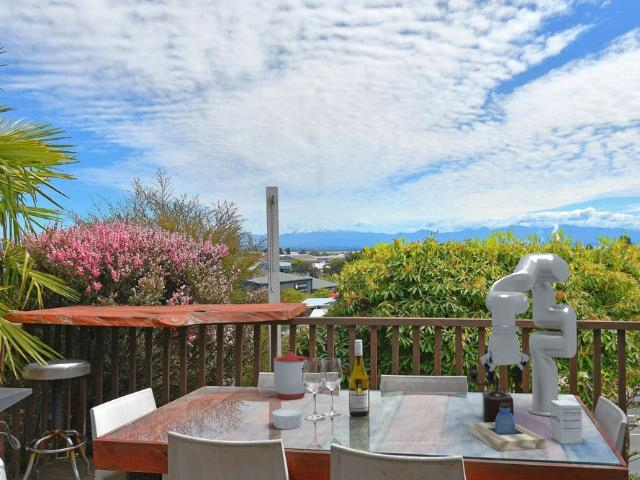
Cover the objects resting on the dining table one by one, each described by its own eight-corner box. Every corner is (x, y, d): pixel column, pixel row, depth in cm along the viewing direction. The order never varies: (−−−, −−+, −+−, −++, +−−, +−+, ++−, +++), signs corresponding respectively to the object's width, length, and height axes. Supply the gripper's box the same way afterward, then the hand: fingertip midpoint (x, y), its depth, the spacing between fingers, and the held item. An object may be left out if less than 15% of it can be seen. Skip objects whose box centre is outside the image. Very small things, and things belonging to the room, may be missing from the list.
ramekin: (279, 432, 215) (279, 417, 215) (266, 424, 225) (266, 410, 225) (307, 428, 220) (307, 413, 221) (294, 421, 230) (294, 406, 231)
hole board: (511, 429, 216) (511, 421, 217) (545, 448, 195) (545, 438, 195) (469, 432, 213) (468, 423, 214) (498, 451, 192) (498, 441, 192)
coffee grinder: (509, 417, 234) (509, 369, 235) (514, 424, 223) (513, 374, 224) (468, 415, 237) (467, 368, 237) (470, 423, 226) (470, 374, 226)
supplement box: (550, 438, 206) (549, 400, 207) (571, 437, 207) (571, 399, 207) (561, 444, 199) (560, 405, 199) (582, 443, 200) (582, 404, 200)
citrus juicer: (312, 400, 264) (311, 353, 264) (271, 400, 264) (271, 354, 265) (313, 393, 279) (312, 348, 280) (274, 393, 280) (274, 349, 280)
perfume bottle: (515, 438, 206) (514, 402, 207) (515, 443, 200) (514, 406, 201) (496, 436, 208) (495, 401, 209) (495, 441, 202) (494, 405, 203)
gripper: (522, 328, 211) (523, 378, 210) (474, 330, 208) (475, 381, 207) (533, 331, 203) (534, 382, 203) (484, 333, 200) (485, 385, 200)
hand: (505, 381), depth 205 cm, fingers open, 9 cm apart
